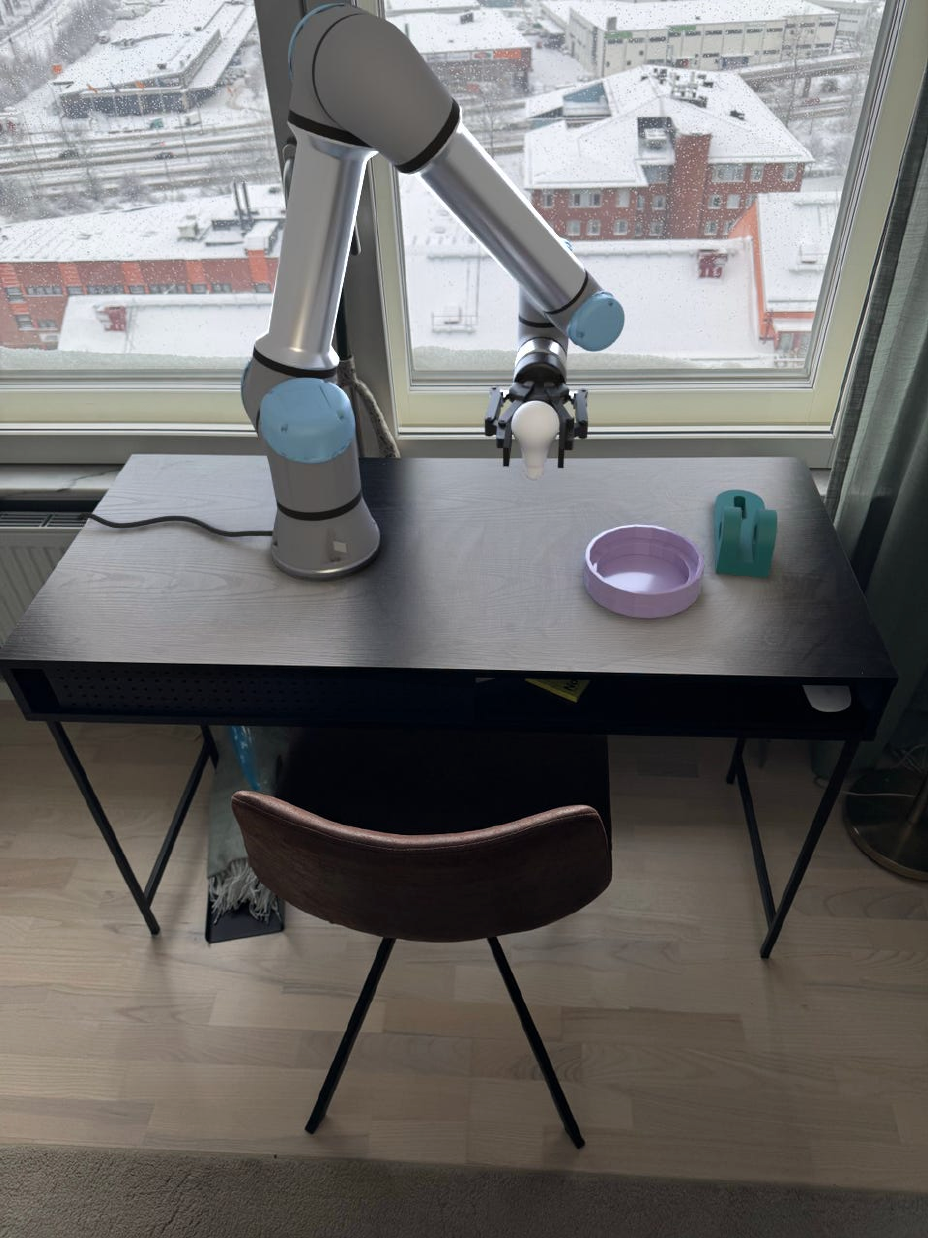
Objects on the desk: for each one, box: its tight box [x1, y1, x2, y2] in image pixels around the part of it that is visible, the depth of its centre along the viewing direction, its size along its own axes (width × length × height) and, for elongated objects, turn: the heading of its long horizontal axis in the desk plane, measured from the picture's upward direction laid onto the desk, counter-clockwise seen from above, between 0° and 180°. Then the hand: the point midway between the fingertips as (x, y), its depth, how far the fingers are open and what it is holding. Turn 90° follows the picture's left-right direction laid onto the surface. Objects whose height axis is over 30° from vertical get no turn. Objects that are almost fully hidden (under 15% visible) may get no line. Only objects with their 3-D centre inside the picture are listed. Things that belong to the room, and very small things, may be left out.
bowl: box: [583, 524, 706, 619], centre depth 122 cm, size 15×15×4 cm
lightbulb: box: [511, 401, 559, 481], centre depth 120 cm, size 6×6×11 cm
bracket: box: [713, 489, 778, 579], centre depth 129 cm, size 18×7×8 cm, turn 169°
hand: (533, 457), depth 116 cm, fingers closed on lightbulb, 6 cm apart
